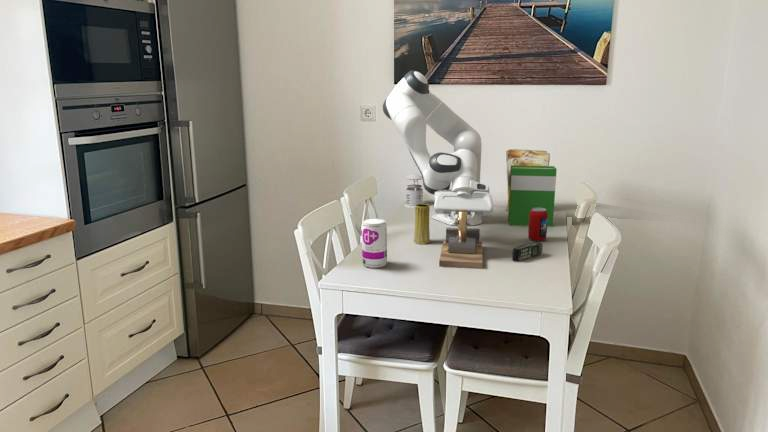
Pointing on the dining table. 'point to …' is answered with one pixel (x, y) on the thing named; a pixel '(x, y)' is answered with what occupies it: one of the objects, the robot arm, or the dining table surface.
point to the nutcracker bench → (461, 258)
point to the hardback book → (531, 192)
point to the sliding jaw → (461, 237)
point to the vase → (422, 224)
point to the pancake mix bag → (525, 161)
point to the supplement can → (374, 243)
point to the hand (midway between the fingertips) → (462, 224)
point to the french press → (413, 195)
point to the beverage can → (538, 224)
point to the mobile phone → (527, 251)
